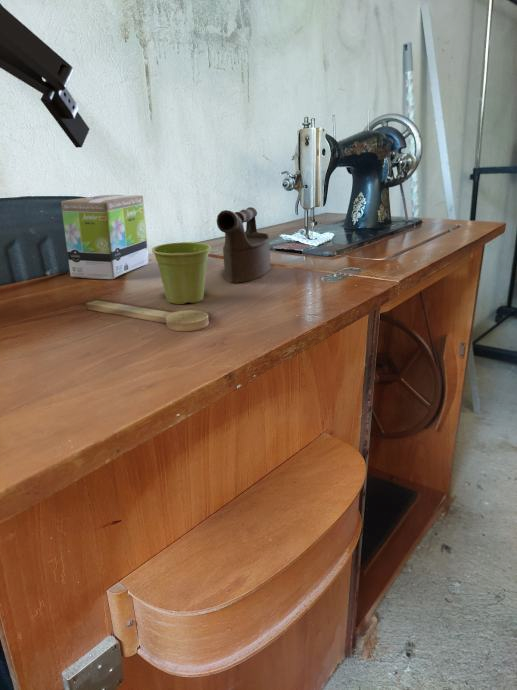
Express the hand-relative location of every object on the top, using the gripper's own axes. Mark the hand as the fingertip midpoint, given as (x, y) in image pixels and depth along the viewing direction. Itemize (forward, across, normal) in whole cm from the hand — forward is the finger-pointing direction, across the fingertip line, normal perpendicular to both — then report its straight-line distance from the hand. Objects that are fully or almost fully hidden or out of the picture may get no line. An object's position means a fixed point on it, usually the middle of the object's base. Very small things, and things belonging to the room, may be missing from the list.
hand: (34, 139), depth 60 cm
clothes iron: (+45, +10, +10) cm, 47 cm away
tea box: (+44, -17, +8) cm, 48 cm away
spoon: (+25, +5, -10) cm, 28 cm away
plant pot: (+32, +7, -3) cm, 33 cm away
